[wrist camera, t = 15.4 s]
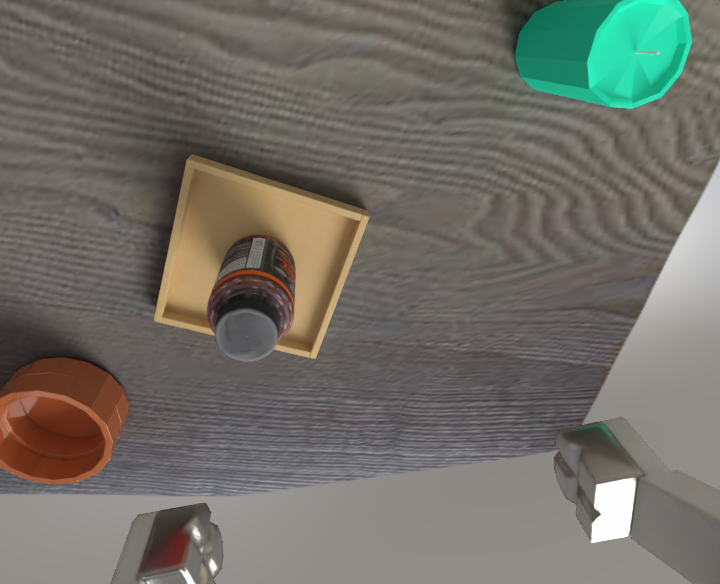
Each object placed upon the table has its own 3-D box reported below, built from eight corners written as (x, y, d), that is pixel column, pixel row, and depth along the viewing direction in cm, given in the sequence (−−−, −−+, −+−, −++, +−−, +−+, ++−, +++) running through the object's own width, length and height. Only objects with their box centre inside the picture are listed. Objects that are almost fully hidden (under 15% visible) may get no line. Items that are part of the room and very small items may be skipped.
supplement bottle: (307, 281, 42) (309, 357, 32) (244, 306, 43) (226, 388, 33) (277, 220, 39) (269, 282, 29) (210, 247, 40) (179, 317, 30)
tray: (158, 311, 43) (153, 321, 41) (191, 153, 37) (186, 158, 35) (314, 348, 46) (315, 359, 45) (367, 210, 40) (369, 216, 39)
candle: (513, 9, 35) (606, -3, 24) (596, -6, 35) (725, -26, 24) (515, 98, 38) (598, 123, 27) (591, 84, 38) (704, 102, 27)
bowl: (6, 431, 47) (-25, 472, 42) (12, 343, 43) (-21, 379, 38) (121, 451, 49) (103, 492, 45) (137, 370, 45) (119, 406, 41)
